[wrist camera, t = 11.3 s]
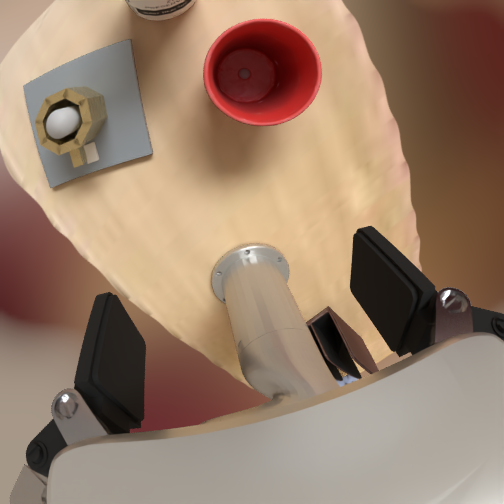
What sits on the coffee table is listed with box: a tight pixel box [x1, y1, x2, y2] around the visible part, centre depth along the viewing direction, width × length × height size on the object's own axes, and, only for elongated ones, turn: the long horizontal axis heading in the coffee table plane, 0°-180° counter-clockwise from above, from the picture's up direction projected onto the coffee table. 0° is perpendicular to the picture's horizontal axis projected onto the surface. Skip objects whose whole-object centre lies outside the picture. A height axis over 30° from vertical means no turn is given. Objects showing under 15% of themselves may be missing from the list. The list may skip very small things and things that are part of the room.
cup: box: [35, 86, 108, 168], centre depth 23 cm, size 9×7×6 cm
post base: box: [23, 39, 153, 188], centre depth 23 cm, size 15×15×8 cm
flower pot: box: [203, 19, 322, 126], centre depth 24 cm, size 11×11×10 cm
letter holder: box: [306, 307, 379, 381], centre depth 55 cm, size 10×20×14 cm, turn 40°
